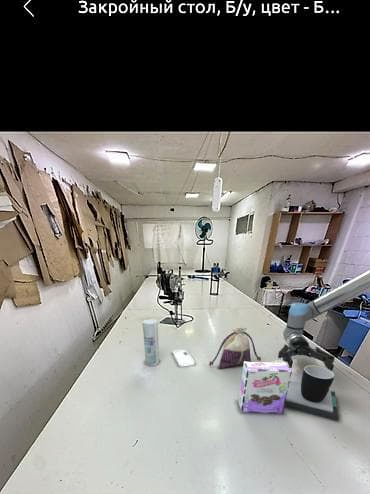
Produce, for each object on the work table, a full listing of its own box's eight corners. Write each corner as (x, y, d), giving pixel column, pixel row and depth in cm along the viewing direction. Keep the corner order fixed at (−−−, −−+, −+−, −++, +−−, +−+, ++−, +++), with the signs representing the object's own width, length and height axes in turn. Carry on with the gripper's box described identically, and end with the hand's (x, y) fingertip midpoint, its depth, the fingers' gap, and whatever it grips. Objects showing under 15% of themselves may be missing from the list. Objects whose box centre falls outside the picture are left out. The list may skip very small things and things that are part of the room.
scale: (333, 396, 87) (335, 389, 86) (336, 421, 74) (339, 414, 73) (287, 385, 93) (288, 379, 92) (282, 406, 81) (284, 399, 80)
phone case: (172, 353, 119) (179, 366, 106) (172, 350, 119) (179, 364, 105) (186, 351, 121) (195, 365, 108) (186, 349, 120) (195, 362, 107)
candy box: (240, 413, 78) (246, 369, 71) (237, 402, 83) (243, 360, 76) (283, 414, 77) (293, 370, 70) (277, 403, 83) (286, 361, 76)
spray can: (142, 364, 108) (139, 322, 100) (149, 358, 114) (147, 318, 105) (155, 366, 106) (153, 324, 98) (161, 360, 111) (160, 320, 103)
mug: (328, 407, 76) (337, 381, 72) (298, 401, 79) (305, 375, 75) (322, 388, 86) (330, 363, 82) (296, 383, 89) (302, 359, 85)
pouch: (214, 374, 100) (217, 332, 92) (206, 365, 107) (208, 326, 99) (262, 365, 108) (269, 325, 100) (252, 357, 115) (257, 320, 107)
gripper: (326, 354, 103) (346, 379, 84) (267, 349, 108) (273, 371, 89) (330, 338, 100) (352, 360, 81) (269, 333, 105) (276, 354, 86)
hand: (311, 366), depth 85 cm, fingers open, 13 cm apart
